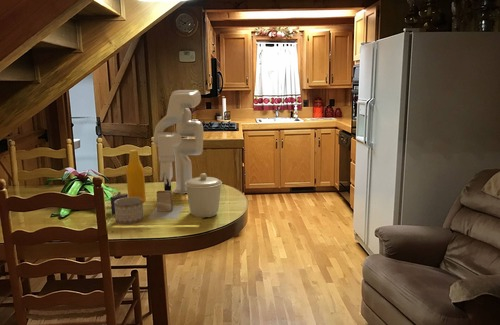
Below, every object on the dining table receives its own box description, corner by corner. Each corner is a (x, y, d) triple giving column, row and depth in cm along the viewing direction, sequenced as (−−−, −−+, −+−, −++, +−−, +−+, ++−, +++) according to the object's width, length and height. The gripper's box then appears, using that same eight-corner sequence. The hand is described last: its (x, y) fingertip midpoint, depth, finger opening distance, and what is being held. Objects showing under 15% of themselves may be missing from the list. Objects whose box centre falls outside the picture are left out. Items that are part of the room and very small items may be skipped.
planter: (144, 224, 186) (142, 203, 184) (115, 227, 183) (113, 205, 181) (143, 216, 198) (141, 195, 196) (116, 218, 195) (114, 198, 193)
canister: (179, 218, 194) (177, 176, 190) (197, 207, 211) (195, 168, 207) (212, 222, 188) (211, 179, 184) (228, 211, 204) (227, 170, 200)
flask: (127, 209, 209) (125, 189, 207) (130, 210, 207) (128, 190, 205) (110, 214, 202) (109, 193, 200) (113, 215, 200) (112, 194, 198)
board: (157, 207, 211) (157, 205, 211) (183, 207, 211) (183, 205, 211) (147, 220, 192) (147, 218, 191) (176, 220, 191) (176, 218, 191)
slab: (159, 209, 205) (157, 190, 203) (172, 209, 204) (171, 190, 202) (157, 211, 201) (156, 192, 199) (171, 211, 201) (170, 192, 199)
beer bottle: (128, 201, 223) (124, 149, 217) (145, 199, 226) (142, 148, 220) (128, 206, 214) (124, 152, 209) (146, 204, 217) (143, 151, 211)
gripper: (162, 156, 214) (164, 189, 217) (155, 161, 199) (157, 197, 203) (176, 156, 214) (177, 189, 217) (170, 161, 199) (172, 197, 203)
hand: (168, 193), depth 210 cm, fingers closed
